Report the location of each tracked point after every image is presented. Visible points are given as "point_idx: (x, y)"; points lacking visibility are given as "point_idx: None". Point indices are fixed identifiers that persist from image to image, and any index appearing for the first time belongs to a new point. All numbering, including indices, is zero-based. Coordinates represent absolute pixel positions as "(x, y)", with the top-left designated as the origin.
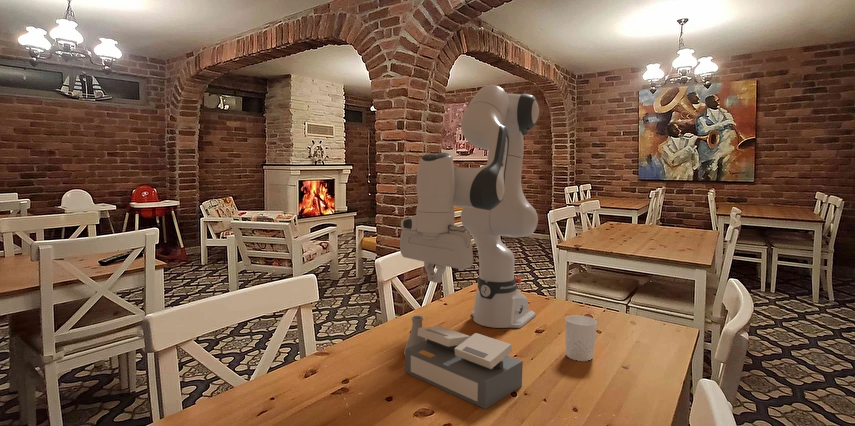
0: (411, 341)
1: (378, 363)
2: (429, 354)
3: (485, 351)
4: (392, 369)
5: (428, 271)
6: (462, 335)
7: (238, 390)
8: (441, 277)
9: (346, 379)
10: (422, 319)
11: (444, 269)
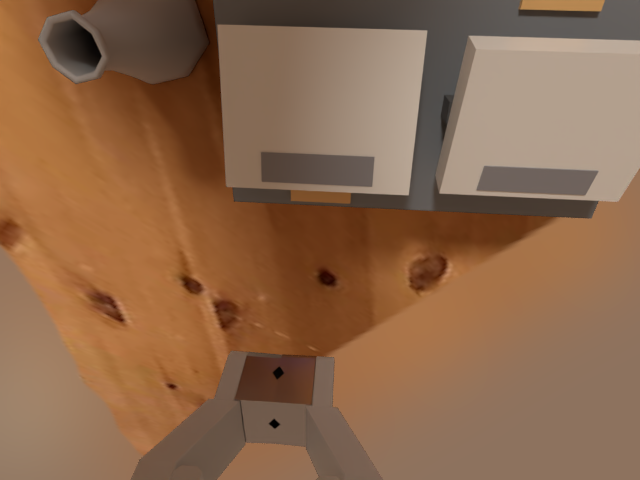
0: (138, 73)
1: (150, 176)
2: (333, 193)
3: (579, 158)
4: (209, 176)
5: (226, 464)
6: (400, 69)
7: (109, 400)
8: (332, 386)
9: (185, 280)
10: (102, 36)
11: (372, 471)
